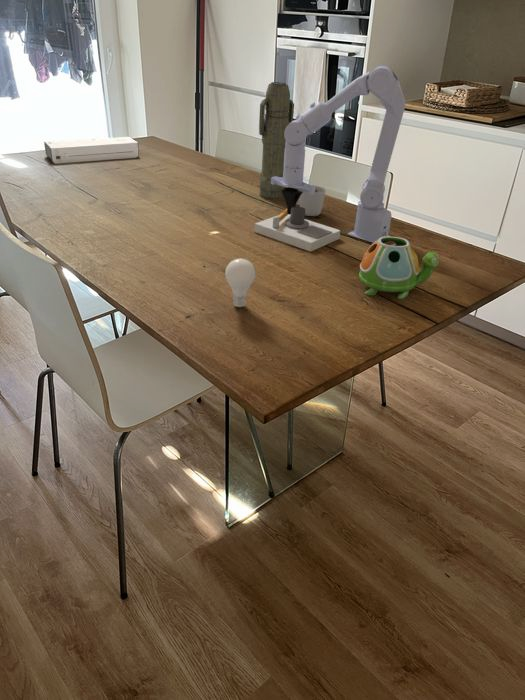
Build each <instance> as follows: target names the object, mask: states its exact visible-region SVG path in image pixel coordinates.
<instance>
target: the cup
mask: <svg viewBox="0 0 525 700" xmlns="http://www.w3.org/2000/svg"><path fill="white" fill-rule="evenodd" d="M310 185H311V184H310ZM311 186H314V187H315V194H312V195H309V194H308V193H305V192H303V193H302V194H301V196H300V197H299V199H298V201H297V203H296V206H298V207H303V208H305V217H317V216H319V215H321V213H322V210H323V205H324V201H325V197H326V189H325V187H322V186H318V185H311Z"/></svg>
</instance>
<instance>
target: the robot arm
mask: <svg viewBox="0 0 525 700" xmlns="http://www.w3.org/2000/svg"><path fill="white" fill-rule="evenodd" d="M370 72H371V73H370ZM370 93H371V94H372V95H373V96H374V97H376V98H377V99H378V100H380V102H381V104H382V106H383V107H384V109H385V114H384V118H383V120H382V124H381V125H382V126H381V129H380V134H379V137H378V140H377V146H376V148H375V152H374V156H373V158H372V159H373V160H372V164H371V166H370V167H371V168H370V171H369V175H368V177H367V179H366V180H365V181H364V183H363V184H362V191H361V192H360V195H359V196H360V197H359V200H360V201H357V202H358V203H357V210H356V217H355V223H354V230H353V231H350V232H348V233H347V235H348V236H350V237H354V238H357V239H361V240H362V241H366V242H370V243H372V244H373V243H374V242H376V241H377V240H378V239H379V238H381V237H390V235H389V234H390V226H391V222H392V212H391V211H390V210H388V209H386V207H384V206H385V204H384V195H385V194H384V193H385V189H386V187H385V182H386V181H385V180H386V177H387V173H388V169H389V166H390V162H391V158H392V155H393V151H394V149H395V145H396V140H397V137H398V133H399V130H400V126H401V122H402V119H403V115H404V112H405V108H406V100H405V96H404V93H403V91H402V87H401V83H400V81H399V77H398V75H397V74H396V73H395V71H394V70H393V69H392V68H391V67H390V66H389V65H387V64H380V65H377V66H376V67H374V69H372V71H371V70H369V71H367V72H366V73H363V74H361V76H358V77H357V78H355V79H354V80H353V81H352V82H350V83H349V84H348V85H346V86H345V87H344V88H342V89H341V90H340V91H338V92H337V93H336V94H335V95H334V96H333V97H331V98H330V99H329V100H327V101H326V102H325V101H324V102H323V101H317V102H315V101H314V102H312V103H310V105H309V106H310V107H309V108H308V109H307V110H306V111H304V112H303V113H302V114H301V115H300V114H298V115H296V116H295V119H293V121H292V122H291V123H289V125H288V126H287V127H286V129H285V132H284V137H285V139H286V143H285V145H286V146H285V154H284V170H283V178H282V177H276V176H275V177H271V184H273V185H274V184H276V185H279V186H282V187H285V188H284V190H282V194H283V196H284V198H283V199H284V201H285V204H286V209H287V211H288V214H289V215H291V208H292V207H297V205H296V203H297V201H299V197H300V196H301V194H302V193H303V192H305V193H308V194H309V195H312V194H315V187H314V186H315V185H313V186H311V184H309V183H306V182H304V175H305V174H304V173H305V172H304V171H305V161H306V159H305V158H306V139H307V137H308V135H309V136H311V135H313V134H314V133H315V132H317V131H318V130H320V129H322V127H324V126H325V125H327V124H328V123H330V122H331V120H332V115H333V113H335V112H336V111H337V110H338V109H340V108H341V107H343V106H344V105H346V104H347V103H349V102H350V101H352V100H353V99H355V98H356V97H358V96H360V97H361V96H368V95H369V94H370Z"/></svg>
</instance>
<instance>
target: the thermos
mask: <svg viewBox="0 0 525 700" xmlns="http://www.w3.org/2000/svg"><path fill="white" fill-rule="evenodd" d="M294 114H295V103H294V100H293V99H291V93H290V88H289V85H288V84H287V83H286V82H281V81H280V82H279V81H272V82H271V83H269V84H268V86H267V89H266V92H265V98H264V99H262V100H261V102H260V104H259V120H258V121H259V123H258V135H260V136H261V142H262V160H261V162H262V163H261V171H260V174H259V197H261V198H262V199H266V200H282V199H285V198H284V196H283V194H282V190H284V188H285V187H282V186H279V185H276V184H274V185H273V184H271V177H275V176H276V177H282V178H283V170H284V154H285V146H286V145H285V143H286V139H285V137H284V132H285V129H286V127H287V126H288V125H289V123H291V122H292V121H294Z"/></svg>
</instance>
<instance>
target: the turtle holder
mask: <svg viewBox="0 0 525 700" xmlns="http://www.w3.org/2000/svg"><path fill="white" fill-rule="evenodd" d="M388 242H393V244H386V243H388ZM410 244H411V243H410V242H409V240H408V239H406V238H403V237H398V236H389V237H381V238H379V239H378V240H377V241H376V242H374V243H372V244H371V245H370V246H369V247H368V249H367V250H366V251H365V253H364V255H363V256H362V257H363V258H362V260H361V262H360V263H359V273H358V277H359V280H360V282H361V283H362V284H363V285H365V286H366V287H368V288H369V289H367V290H365V292H364V294H365V295H367V296H376V295H377V293H378V292H379V291H381V292H388V293H399V294H397V296H396V297H397V299H398V300H405V299H406V298H407V297H408V295H409V293H410V291H411V290H413V289H414V288H415V287H416V285H420V284H421V285H422V284H423V283H425V282H426V281H427V280H428V279H430V277H431V275H432V274H433V272H434V269H436V268H437V267H438V266H439V264H440V262H439V260H440V259H439V254H438V252H432V251H429V252H428V253H426V254H425V255H424V256H423V257H422V260H421V261H422V266H421V269H420V271H419V267H420V266H419V258H418V256H417V253H416V251H415V250H414V248H413V247H412V245H410Z"/></svg>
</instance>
